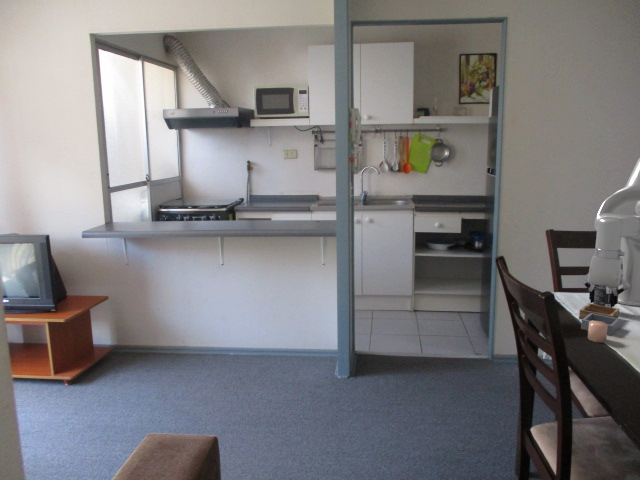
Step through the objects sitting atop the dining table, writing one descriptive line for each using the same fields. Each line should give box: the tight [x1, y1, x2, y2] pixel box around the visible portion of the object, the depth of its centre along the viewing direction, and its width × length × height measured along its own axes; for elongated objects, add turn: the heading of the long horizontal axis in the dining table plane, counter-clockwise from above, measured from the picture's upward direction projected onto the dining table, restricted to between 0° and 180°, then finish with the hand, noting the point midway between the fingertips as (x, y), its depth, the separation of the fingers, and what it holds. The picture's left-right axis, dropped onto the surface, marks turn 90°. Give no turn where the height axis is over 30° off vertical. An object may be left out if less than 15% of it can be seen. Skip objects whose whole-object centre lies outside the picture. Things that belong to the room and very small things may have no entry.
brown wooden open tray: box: [578, 302, 620, 320], centre depth 181 cm, size 10×10×3 cm
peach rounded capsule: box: [587, 321, 608, 343], centre depth 163 cm, size 5×5×5 cm
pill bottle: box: [592, 285, 613, 308], centre depth 188 cm, size 6×6×11 cm
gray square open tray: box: [580, 313, 621, 336], centre depth 172 cm, size 9×9×3 cm
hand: (602, 303), depth 188 cm, fingers closed on pill bottle, 6 cm apart
